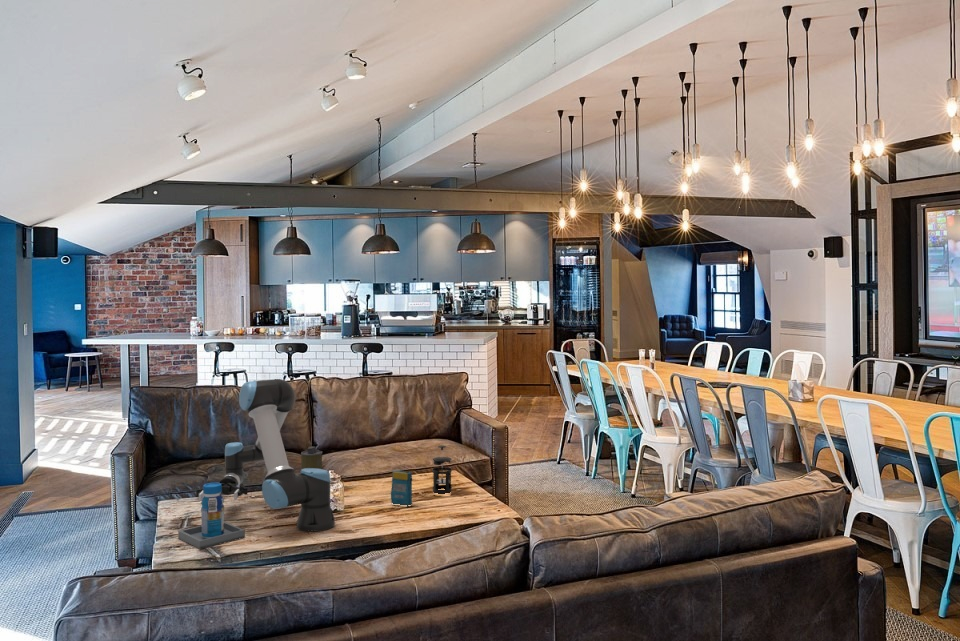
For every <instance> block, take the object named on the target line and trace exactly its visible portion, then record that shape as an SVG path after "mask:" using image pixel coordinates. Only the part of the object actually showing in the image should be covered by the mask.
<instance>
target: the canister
mask: <svg viewBox="0 0 960 641" xmlns="http://www.w3.org/2000/svg"><path fill="white" fill-rule="evenodd" d="M306 449H307V450H304V451H301V453H300V454H301V455H300V456H301V458H300V459H301V460H300V461H301V468H300V469H301V470H302V469H305V468H316V469H323V451H321V450H319V449H317V447H316V446H308V447H307V448H306Z"/></svg>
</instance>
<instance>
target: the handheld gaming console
mask: <svg viewBox="0 0 960 641" xmlns="http://www.w3.org/2000/svg"><path fill="white" fill-rule="evenodd" d="M412 485H413V474H412V472H410V471H409V472H408V471H399V470H393V471H391V489H390V490H391V491H390V499H391V501H390V502H391V504H392V503H393V504H400V505H407V506H408V505H411V504H412V505H413V486H412Z"/></svg>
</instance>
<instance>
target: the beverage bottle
mask: <svg viewBox="0 0 960 641" xmlns="http://www.w3.org/2000/svg"><path fill="white" fill-rule="evenodd" d="M202 488H203V494H204V495H205V496H204V497H203V499H202V500H201V501H200V502H201V503H200V504H201V508H200V514H201V517H200V518H201V525H202V537H203V538H206V539H207V538H211V537H215V536H219V535H223V534H224V522H225V506H224V497H223V496H222V493H221V491H222V485H221V483H219V482H209V483H205V484H203V486H202Z"/></svg>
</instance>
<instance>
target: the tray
mask: <svg viewBox="0 0 960 641" xmlns="http://www.w3.org/2000/svg"><path fill="white" fill-rule="evenodd" d="M245 531H246V530H245V529H243V528H241V527H238V526H237V525H234V524H232V523H229V522H227V521H224V534H223V535H219V536H215V537H211V538H207V539H206V538H203V537H202V524H201V525H198V526H192V527H190V528H185V529H182V530H177V532H178V533H177V535H178V536H177V538H179V539H178V540H180V541H182V542H185V543H186V544H188V543H189V545H190V546H192V547H195V548H196V549H199V550H201V549H202V550H203V549H207V548H209V546H211V547H213V546H218V545H221V544H220V543H222V544H225V543H224V542H226V543H229V542H228V541H230V542H233V541H232V540H234V541H236V540H235V539H238V540H240V539H239V538H242V539H245V538H246V532H245ZM244 537H245V538H244ZM217 544H218V545H217Z"/></svg>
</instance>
